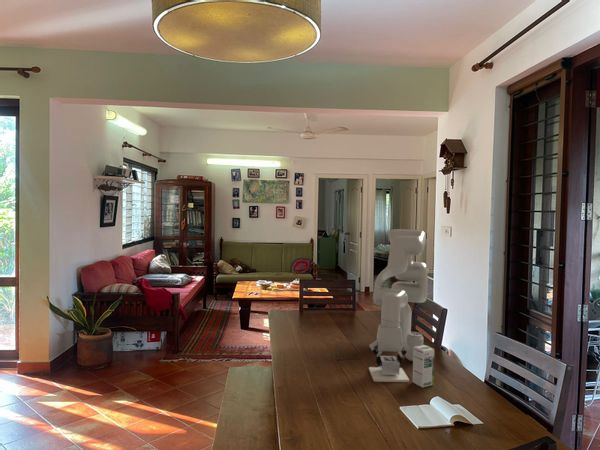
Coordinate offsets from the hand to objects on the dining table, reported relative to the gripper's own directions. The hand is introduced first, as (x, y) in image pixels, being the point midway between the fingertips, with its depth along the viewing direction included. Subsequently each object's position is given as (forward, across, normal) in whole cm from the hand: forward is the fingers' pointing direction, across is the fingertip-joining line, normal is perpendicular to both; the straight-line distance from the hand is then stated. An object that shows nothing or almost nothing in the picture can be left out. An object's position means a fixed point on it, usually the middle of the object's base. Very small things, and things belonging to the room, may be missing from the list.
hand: (388, 365), depth 170 cm
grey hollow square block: (+2, 0, 0) cm, 2 cm away
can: (+5, -16, -19) cm, 25 cm away
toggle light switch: (+4, 0, 0) cm, 4 cm away
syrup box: (+5, -12, +7) cm, 15 cm away
